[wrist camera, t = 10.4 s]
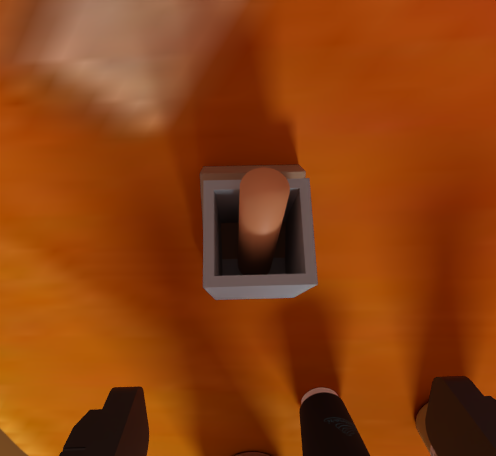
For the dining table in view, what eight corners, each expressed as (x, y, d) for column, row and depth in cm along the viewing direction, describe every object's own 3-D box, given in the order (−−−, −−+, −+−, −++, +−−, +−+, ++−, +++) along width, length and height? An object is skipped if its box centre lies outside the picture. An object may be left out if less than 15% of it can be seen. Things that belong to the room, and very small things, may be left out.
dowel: (251, 285, 31) (260, 218, 20) (231, 260, 32) (229, 183, 21) (278, 266, 32) (300, 192, 21) (257, 242, 33) (268, 159, 22)
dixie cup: (295, 433, 45) (313, 532, 35) (281, 385, 42) (295, 477, 32) (357, 419, 44) (393, 515, 34) (346, 370, 42) (382, 458, 32)
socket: (295, 273, 37) (326, 364, 24) (209, 275, 37) (194, 368, 24) (299, 157, 33) (338, 192, 20) (202, 159, 33) (181, 196, 20)
